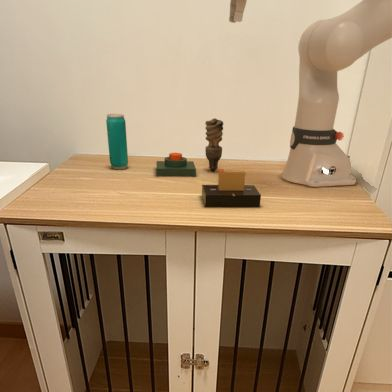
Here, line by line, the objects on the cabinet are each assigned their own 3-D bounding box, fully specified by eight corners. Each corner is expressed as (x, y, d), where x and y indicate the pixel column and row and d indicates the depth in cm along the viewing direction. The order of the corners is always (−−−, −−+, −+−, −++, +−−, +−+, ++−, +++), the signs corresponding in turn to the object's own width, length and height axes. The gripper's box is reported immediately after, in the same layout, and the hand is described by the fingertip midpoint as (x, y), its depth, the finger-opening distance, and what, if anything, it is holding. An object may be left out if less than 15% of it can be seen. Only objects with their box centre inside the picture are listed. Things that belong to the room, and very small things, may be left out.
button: (181, 158, 129) (181, 152, 128) (182, 161, 126) (182, 155, 125) (169, 158, 129) (168, 152, 128) (169, 161, 126) (169, 155, 125)
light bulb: (201, 171, 131) (203, 118, 122) (206, 168, 135) (208, 116, 126) (218, 173, 130) (221, 120, 121) (222, 170, 134) (226, 117, 125)
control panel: (252, 195, 112) (253, 183, 110) (260, 208, 103) (261, 195, 101) (201, 195, 111) (201, 183, 109) (205, 208, 102) (206, 195, 100)
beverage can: (126, 165, 135) (122, 113, 126) (130, 169, 131) (126, 116, 122) (108, 166, 134) (104, 113, 125) (112, 170, 129) (107, 116, 120)
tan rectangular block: (242, 188, 106) (244, 169, 103) (243, 190, 105) (245, 171, 102) (217, 188, 106) (219, 169, 103) (218, 190, 104) (219, 170, 101)
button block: (193, 168, 134) (193, 155, 132) (195, 176, 126) (196, 162, 124) (156, 168, 133) (156, 154, 131) (156, 176, 125) (156, 162, 123)
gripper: (269, -61, 85) (254, 23, 94) (252, -46, 101) (241, 25, 110) (240, -67, 84) (227, 18, 93) (227, -51, 101) (218, 20, 109)
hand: (234, 22), depth 101 cm, fingers open, 8 cm apart
